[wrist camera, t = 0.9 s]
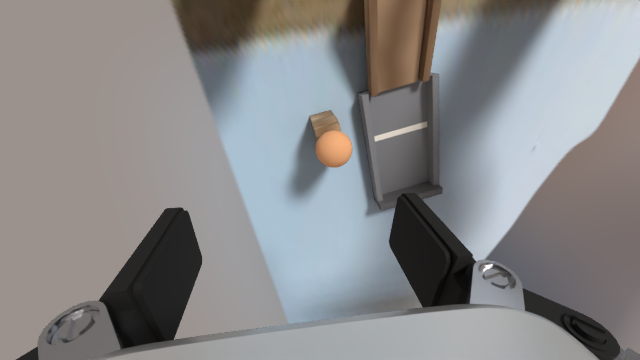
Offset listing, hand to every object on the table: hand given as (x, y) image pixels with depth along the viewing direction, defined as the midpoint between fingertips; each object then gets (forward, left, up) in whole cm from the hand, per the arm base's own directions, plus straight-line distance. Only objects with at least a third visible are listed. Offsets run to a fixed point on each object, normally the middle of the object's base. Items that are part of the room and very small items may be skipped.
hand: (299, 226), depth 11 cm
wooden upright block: (-4, +4, -23) cm, 23 cm away
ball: (-4, +4, -16) cm, 17 cm away
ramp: (-14, -5, -23) cm, 27 cm away
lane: (-14, +8, -23) cm, 28 cm away
